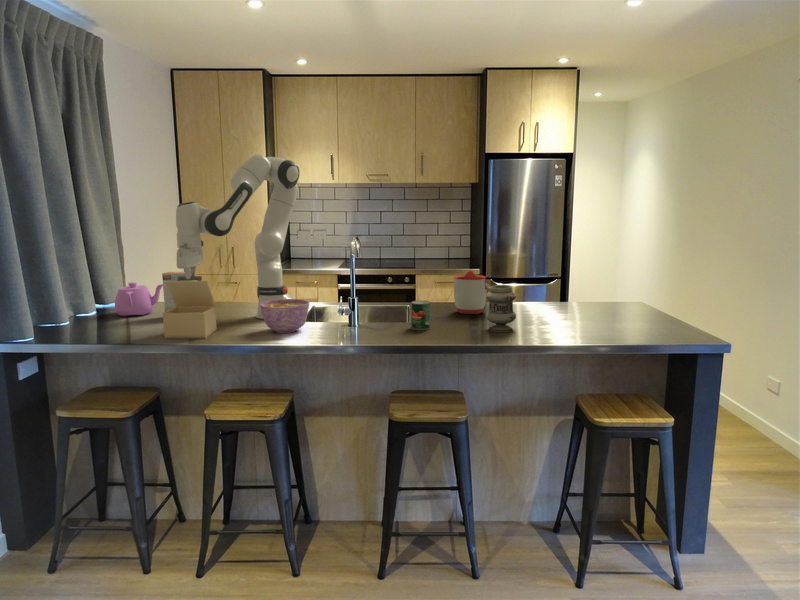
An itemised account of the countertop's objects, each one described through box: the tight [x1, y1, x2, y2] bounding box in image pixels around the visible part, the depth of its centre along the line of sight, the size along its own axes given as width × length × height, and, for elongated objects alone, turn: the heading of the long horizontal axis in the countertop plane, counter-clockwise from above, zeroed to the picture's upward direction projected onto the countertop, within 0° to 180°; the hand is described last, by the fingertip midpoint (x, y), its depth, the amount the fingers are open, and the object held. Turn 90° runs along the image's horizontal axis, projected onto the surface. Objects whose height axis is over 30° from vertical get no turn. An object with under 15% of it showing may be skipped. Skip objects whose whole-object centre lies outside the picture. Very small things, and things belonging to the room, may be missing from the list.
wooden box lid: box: [166, 275, 216, 307], centre depth 235 cm, size 16×14×5 cm
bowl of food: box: [260, 298, 310, 334], centre depth 237 cm, size 20×20×12 cm
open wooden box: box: [162, 306, 218, 339], centre depth 232 cm, size 16×14×10 cm
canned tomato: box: [410, 299, 431, 331], centre depth 241 cm, size 8×8×11 cm
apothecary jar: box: [485, 284, 517, 333], centre depth 237 cm, size 12×12×18 cm
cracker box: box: [161, 271, 200, 313], centre depth 266 cm, size 14×6×21 cm, turn 84°
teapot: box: [114, 282, 163, 317], centre depth 273 cm, size 23×21×15 cm
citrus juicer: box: [453, 270, 491, 315], centre depth 273 cm, size 16×17×20 cm
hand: (190, 277), depth 233 cm, fingers open, 3 cm apart
